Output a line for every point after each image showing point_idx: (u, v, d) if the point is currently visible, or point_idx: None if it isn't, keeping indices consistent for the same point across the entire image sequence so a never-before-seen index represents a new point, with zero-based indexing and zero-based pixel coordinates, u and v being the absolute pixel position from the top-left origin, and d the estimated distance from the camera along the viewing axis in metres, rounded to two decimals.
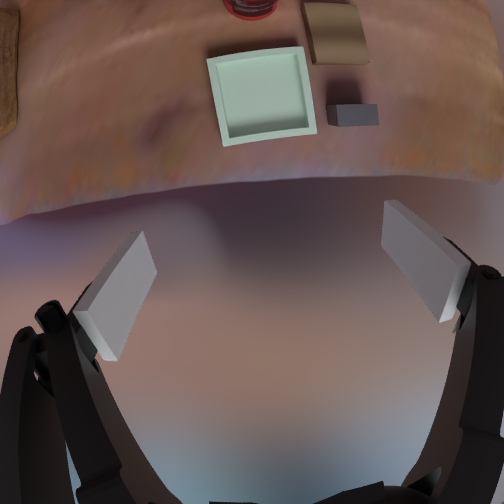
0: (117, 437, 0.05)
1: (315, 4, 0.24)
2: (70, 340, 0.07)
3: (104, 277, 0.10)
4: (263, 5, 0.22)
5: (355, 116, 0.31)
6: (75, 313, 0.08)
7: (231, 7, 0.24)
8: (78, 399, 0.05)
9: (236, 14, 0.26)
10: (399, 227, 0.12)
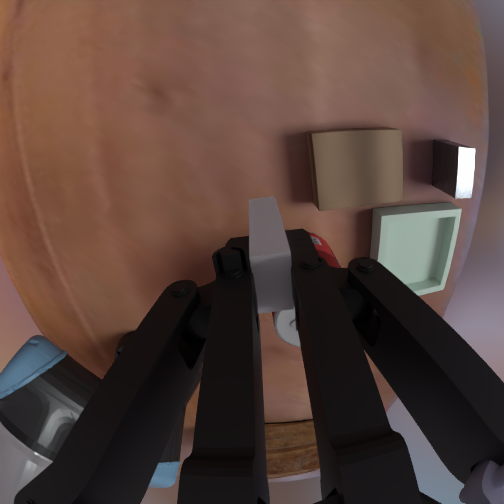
0: (258, 415, 0.05)
1: (321, 195, 0.27)
2: (247, 294, 0.08)
3: (260, 230, 0.12)
4: None
5: (466, 176, 0.23)
6: (252, 259, 0.10)
7: None
8: (235, 362, 0.06)
9: None
10: None
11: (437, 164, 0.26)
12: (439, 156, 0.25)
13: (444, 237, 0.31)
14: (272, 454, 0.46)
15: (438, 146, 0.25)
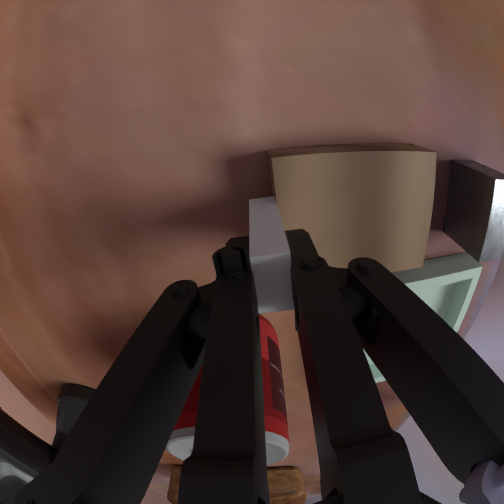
0: (258, 415, 0.05)
1: None
2: (247, 294, 0.08)
3: (261, 230, 0.12)
4: (282, 389, 0.17)
5: (501, 227, 0.12)
6: (252, 259, 0.10)
7: None
8: (236, 362, 0.06)
9: None
10: None
11: (454, 201, 0.16)
12: (459, 188, 0.15)
13: (452, 301, 0.21)
14: None
15: (458, 172, 0.15)
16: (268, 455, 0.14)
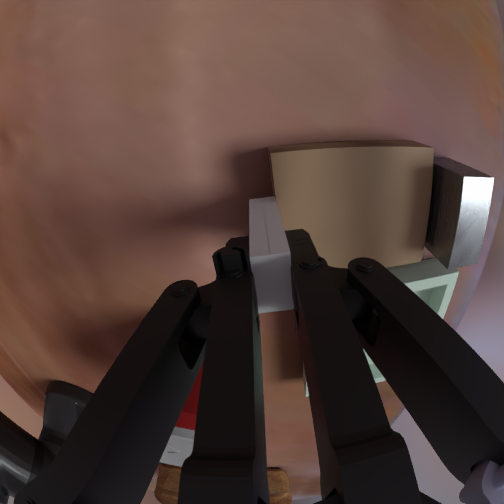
0: (258, 415, 0.05)
1: None
2: (247, 294, 0.08)
3: (261, 230, 0.12)
4: None
5: (474, 230, 0.12)
6: (252, 259, 0.10)
7: None
8: (236, 362, 0.06)
9: None
10: None
11: None
12: None
13: None
14: None
15: None
16: None
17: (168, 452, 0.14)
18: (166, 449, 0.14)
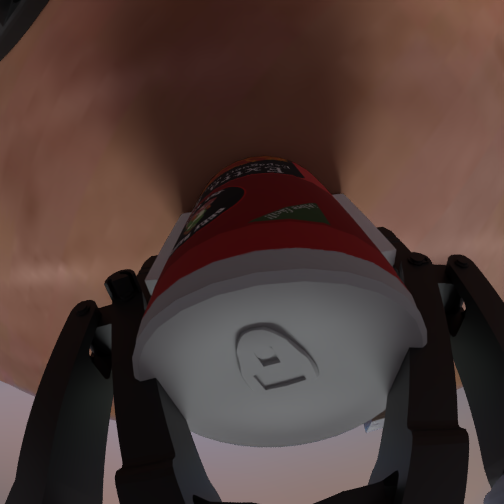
0: (173, 422, 0.05)
1: None
2: (140, 313, 0.08)
3: (170, 250, 0.11)
4: None
5: None
6: (147, 282, 0.09)
7: None
8: None
9: None
10: None
11: None
12: None
13: None
14: None
15: None
16: (255, 431, 0.08)
17: (253, 375, 0.06)
18: (277, 373, 0.06)
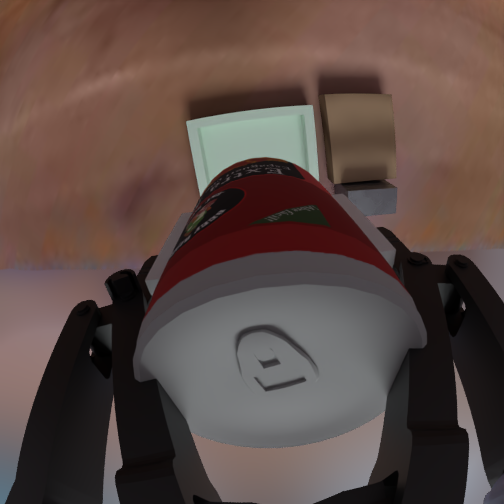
0: (174, 422, 0.05)
1: (339, 96, 0.24)
2: (141, 313, 0.08)
3: (170, 250, 0.11)
4: None
5: (370, 205, 0.27)
6: (148, 282, 0.09)
7: None
8: None
9: None
10: None
11: None
12: None
13: None
14: None
15: None
16: (255, 432, 0.08)
17: (253, 377, 0.06)
18: (277, 375, 0.06)
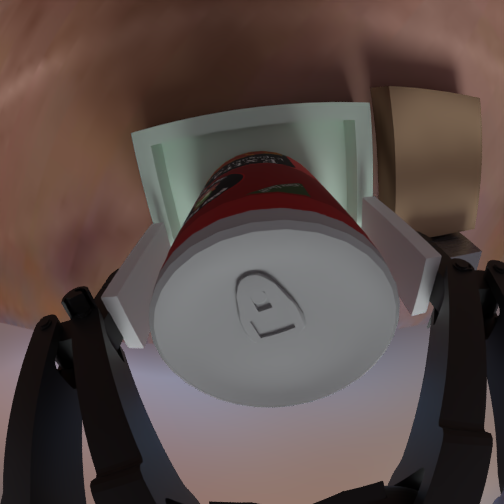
0: (139, 430, 0.05)
1: (412, 93, 0.11)
2: (97, 328, 0.07)
3: (131, 265, 0.10)
4: None
5: None
6: (103, 299, 0.09)
7: None
8: (102, 388, 0.05)
9: None
10: (375, 223, 0.12)
11: None
12: None
13: None
14: None
15: None
16: (252, 388, 0.09)
17: (250, 322, 0.07)
18: (270, 321, 0.07)
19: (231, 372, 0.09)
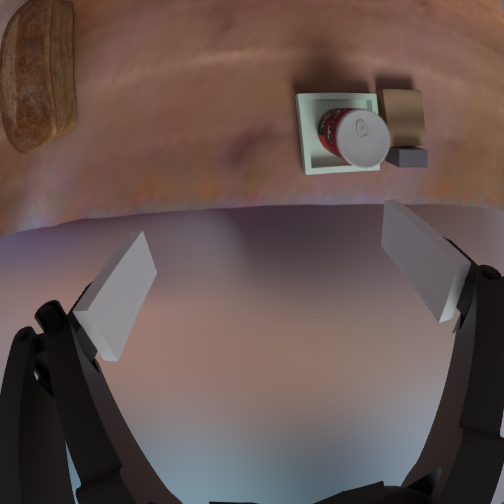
0: (117, 437, 0.05)
1: (391, 91, 0.34)
2: (70, 340, 0.07)
3: (104, 277, 0.10)
4: None
5: (411, 160, 0.37)
6: (75, 313, 0.08)
7: (329, 150, 0.37)
8: (78, 399, 0.05)
9: (329, 151, 0.39)
10: (399, 227, 0.12)
11: None
12: (408, 146, 0.39)
13: (349, 163, 0.42)
14: (48, 56, 0.23)
15: (412, 146, 0.39)
16: (357, 158, 0.31)
17: (358, 132, 0.30)
18: (362, 132, 0.30)
19: (352, 150, 0.31)
